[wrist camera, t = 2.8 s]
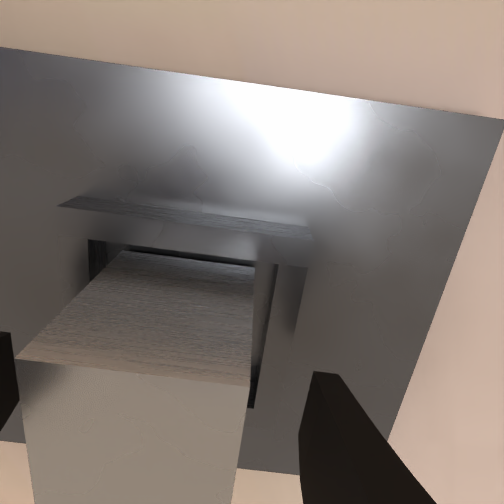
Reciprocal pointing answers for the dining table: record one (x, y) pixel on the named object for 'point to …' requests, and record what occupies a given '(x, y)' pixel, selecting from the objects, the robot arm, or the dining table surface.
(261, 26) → the dining table surface
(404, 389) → the stand foot
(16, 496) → the dining table surface
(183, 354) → the grey textured cube
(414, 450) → the dining table surface
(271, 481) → the dining table surface
